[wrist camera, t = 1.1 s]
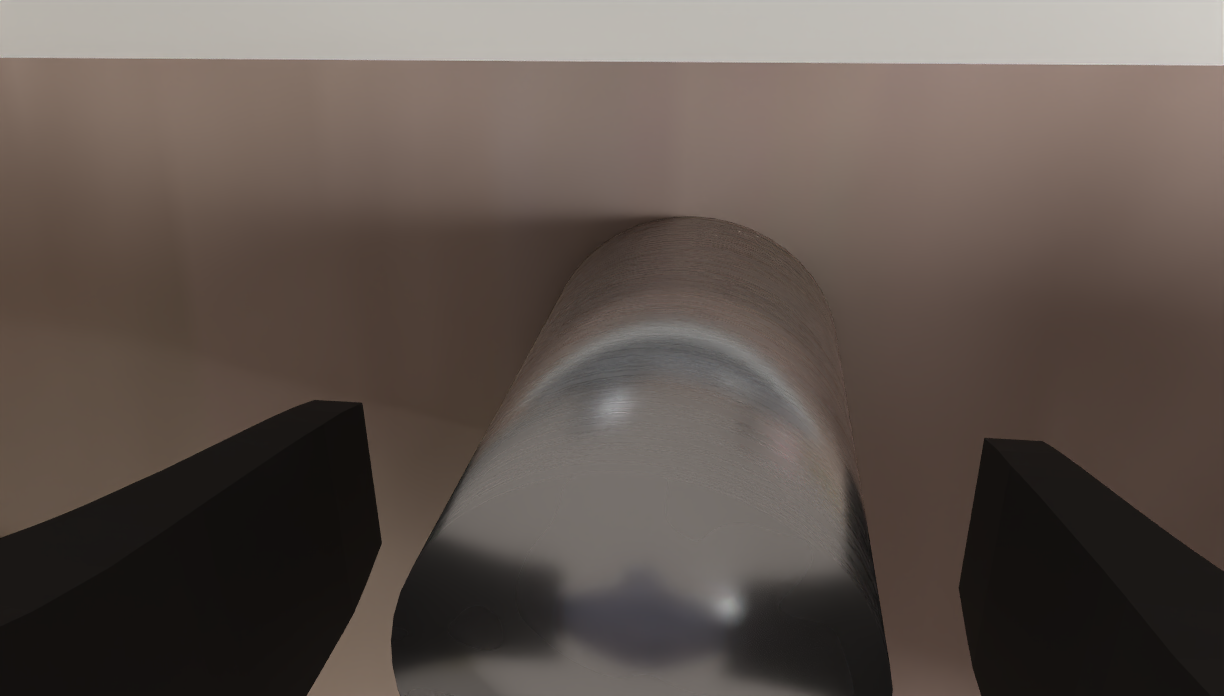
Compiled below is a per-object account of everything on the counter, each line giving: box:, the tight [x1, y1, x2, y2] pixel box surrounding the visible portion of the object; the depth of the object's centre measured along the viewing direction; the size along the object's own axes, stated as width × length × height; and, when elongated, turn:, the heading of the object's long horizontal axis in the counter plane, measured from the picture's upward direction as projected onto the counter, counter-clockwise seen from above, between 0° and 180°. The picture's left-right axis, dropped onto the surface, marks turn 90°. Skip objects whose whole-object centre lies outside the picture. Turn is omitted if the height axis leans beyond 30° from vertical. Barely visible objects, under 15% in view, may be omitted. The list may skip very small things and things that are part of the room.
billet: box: [391, 217, 893, 696], centre depth 11 cm, size 4×4×7 cm
